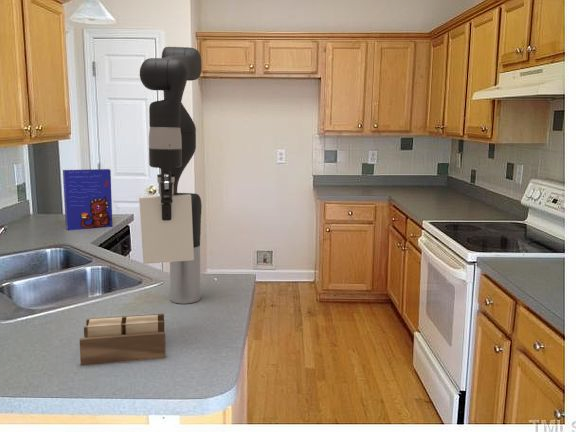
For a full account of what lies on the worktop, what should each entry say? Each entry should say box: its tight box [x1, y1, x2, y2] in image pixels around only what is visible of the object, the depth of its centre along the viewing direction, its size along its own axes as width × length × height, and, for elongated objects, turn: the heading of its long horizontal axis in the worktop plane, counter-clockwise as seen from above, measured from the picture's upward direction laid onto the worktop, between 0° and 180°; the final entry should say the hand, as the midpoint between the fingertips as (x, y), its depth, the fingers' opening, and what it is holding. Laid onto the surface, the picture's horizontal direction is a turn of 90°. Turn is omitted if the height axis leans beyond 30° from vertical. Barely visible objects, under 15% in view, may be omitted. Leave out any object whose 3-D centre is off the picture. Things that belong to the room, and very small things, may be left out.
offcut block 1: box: [87, 316, 123, 338], centre depth 115 cm, size 4×7×8 cm, turn 105°
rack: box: [79, 313, 166, 366], centre depth 118 cm, size 13×18×7 cm
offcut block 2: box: [126, 314, 158, 335], centre depth 117 cm, size 4×7×8 cm, turn 105°
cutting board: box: [138, 194, 194, 265], centre depth 123 cm, size 2×12×16 cm, turn 105°
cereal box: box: [62, 168, 114, 231], centre depth 259 cm, size 22×6×30 cm, turn 122°
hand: (166, 218), depth 122 cm, fingers closed on cutting board, 2 cm apart
